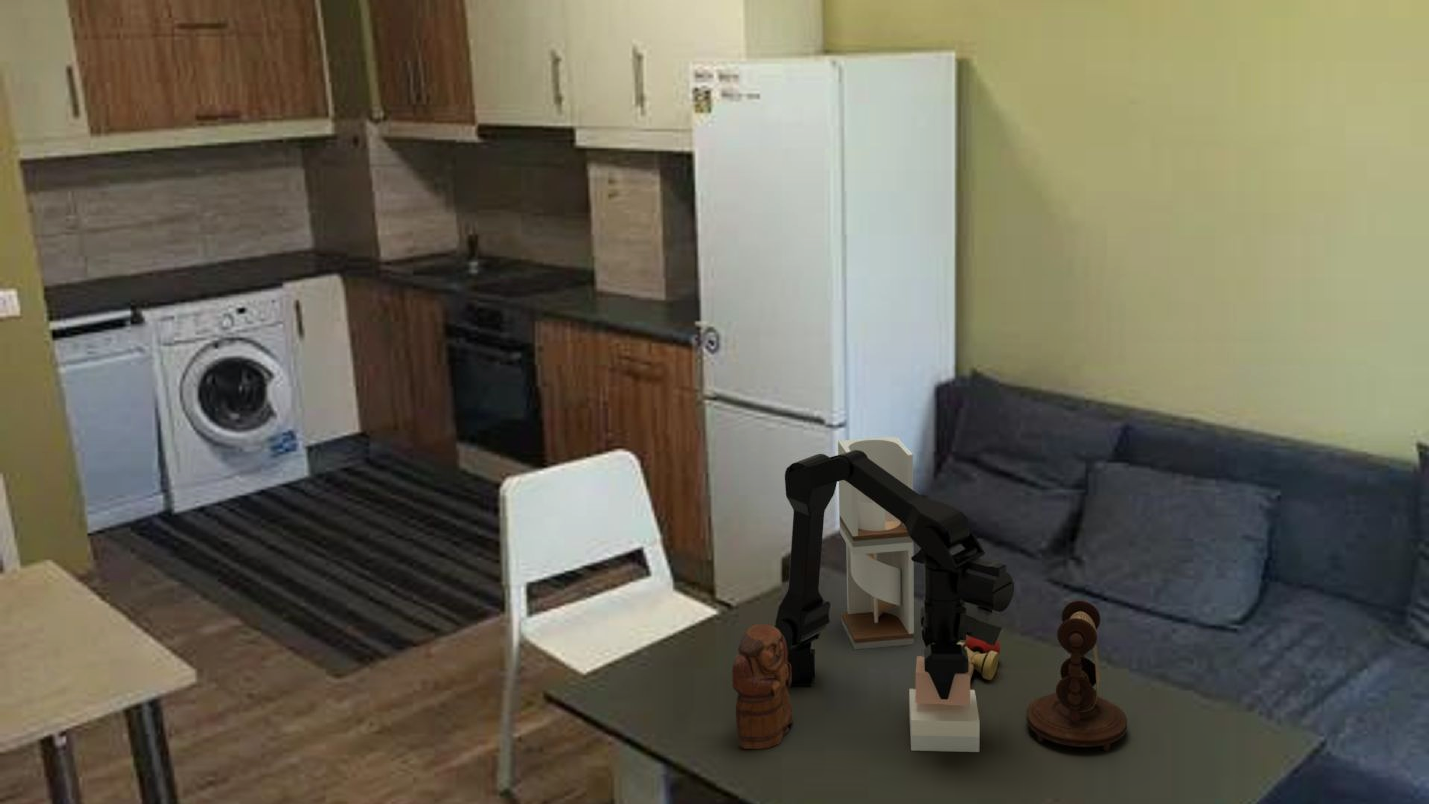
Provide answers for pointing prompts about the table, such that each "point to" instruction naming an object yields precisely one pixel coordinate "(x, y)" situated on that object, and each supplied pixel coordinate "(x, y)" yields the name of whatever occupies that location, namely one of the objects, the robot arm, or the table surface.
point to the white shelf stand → (877, 554)
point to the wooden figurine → (762, 687)
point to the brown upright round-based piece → (1077, 689)
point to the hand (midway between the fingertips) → (943, 689)
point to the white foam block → (944, 726)
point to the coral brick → (929, 693)
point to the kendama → (982, 656)
